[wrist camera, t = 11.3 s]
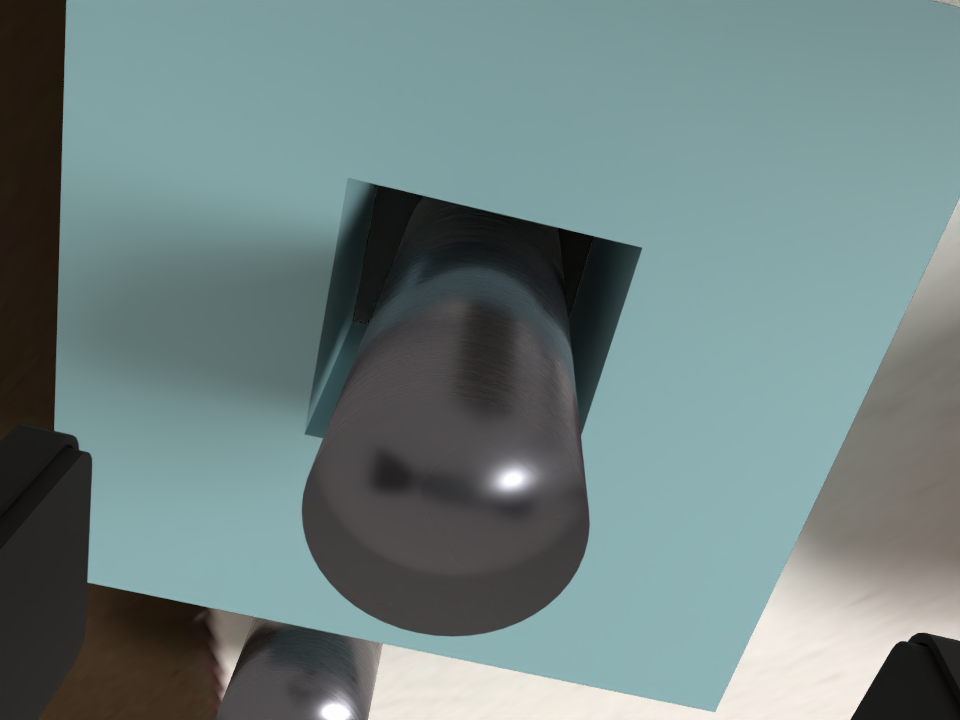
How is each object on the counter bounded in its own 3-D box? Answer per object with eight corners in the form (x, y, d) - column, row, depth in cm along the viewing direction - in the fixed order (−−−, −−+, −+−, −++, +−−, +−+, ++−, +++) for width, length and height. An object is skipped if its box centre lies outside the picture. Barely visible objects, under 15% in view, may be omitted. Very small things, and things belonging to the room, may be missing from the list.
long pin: (421, 155, 23) (325, 367, 12) (578, 192, 23) (626, 434, 12) (391, 301, 24) (283, 604, 13) (537, 335, 24) (547, 660, 14)
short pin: (270, 549, 28) (221, 670, 24) (397, 576, 28) (373, 700, 24) (255, 646, 30) (207, 775, 25) (375, 670, 30) (349, 803, 26)
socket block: (197, -184, 20) (72, -223, 14) (904, -1, 21) (1040, 27, 15) (146, 440, 26) (50, 574, 21) (677, 556, 27) (715, 712, 22)
